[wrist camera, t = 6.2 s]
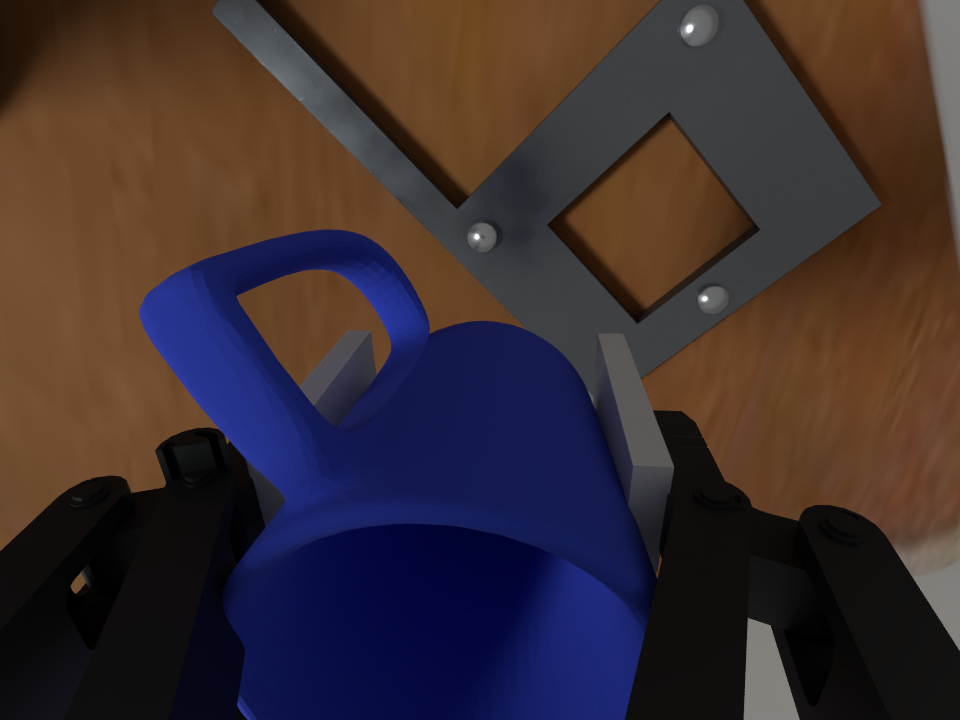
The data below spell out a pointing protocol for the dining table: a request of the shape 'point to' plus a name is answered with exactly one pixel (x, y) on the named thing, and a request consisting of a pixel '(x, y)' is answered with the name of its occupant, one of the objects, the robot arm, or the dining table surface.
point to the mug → (415, 510)
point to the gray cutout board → (593, 149)
